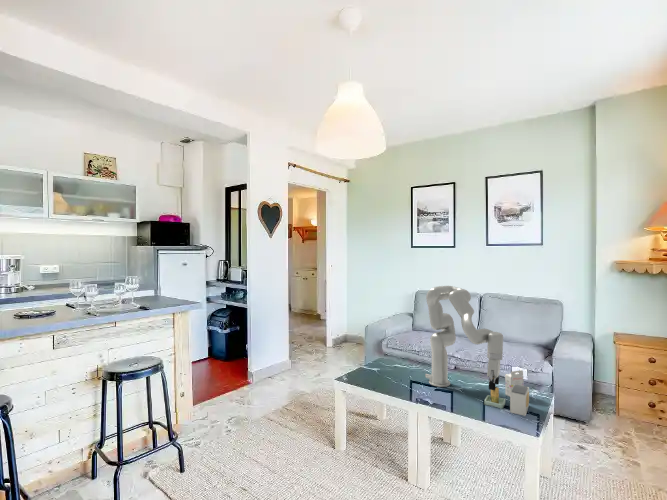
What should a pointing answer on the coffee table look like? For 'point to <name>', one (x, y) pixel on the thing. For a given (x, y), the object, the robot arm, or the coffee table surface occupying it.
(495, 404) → the tray
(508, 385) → the ink cartridge box
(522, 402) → the white box grey panel
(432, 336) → the robot arm
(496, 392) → the roller
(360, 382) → the coffee table surface
